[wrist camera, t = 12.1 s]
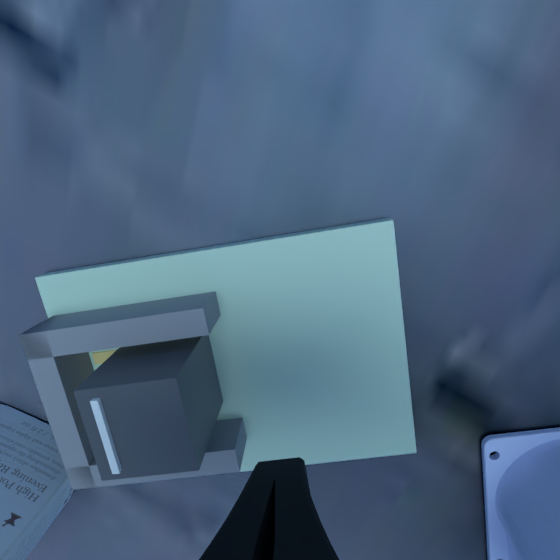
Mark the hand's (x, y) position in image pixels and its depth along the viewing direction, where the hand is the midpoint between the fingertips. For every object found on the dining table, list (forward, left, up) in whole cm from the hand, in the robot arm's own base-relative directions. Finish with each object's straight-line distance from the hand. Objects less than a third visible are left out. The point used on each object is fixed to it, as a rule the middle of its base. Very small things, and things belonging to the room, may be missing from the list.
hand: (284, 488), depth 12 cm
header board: (0, +3, -9) cm, 10 cm away
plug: (0, +6, -8) cm, 10 cm away
